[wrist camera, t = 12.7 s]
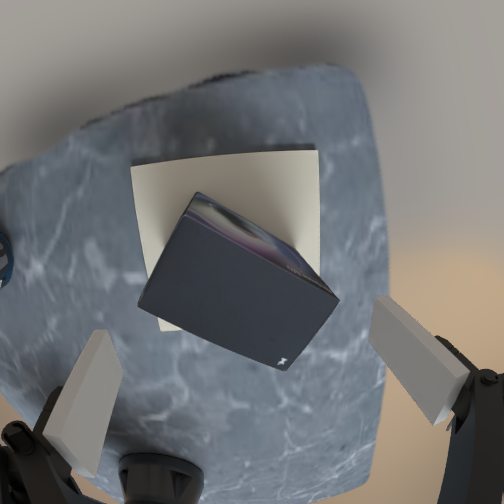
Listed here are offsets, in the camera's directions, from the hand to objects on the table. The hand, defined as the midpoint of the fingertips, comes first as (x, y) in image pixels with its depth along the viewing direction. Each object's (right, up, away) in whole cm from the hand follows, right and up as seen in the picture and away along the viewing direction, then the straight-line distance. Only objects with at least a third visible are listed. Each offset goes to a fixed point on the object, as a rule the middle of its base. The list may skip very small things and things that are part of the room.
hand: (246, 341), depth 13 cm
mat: (-2, +5, +13) cm, 14 cm away
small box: (-2, +5, +13) cm, 14 cm away
